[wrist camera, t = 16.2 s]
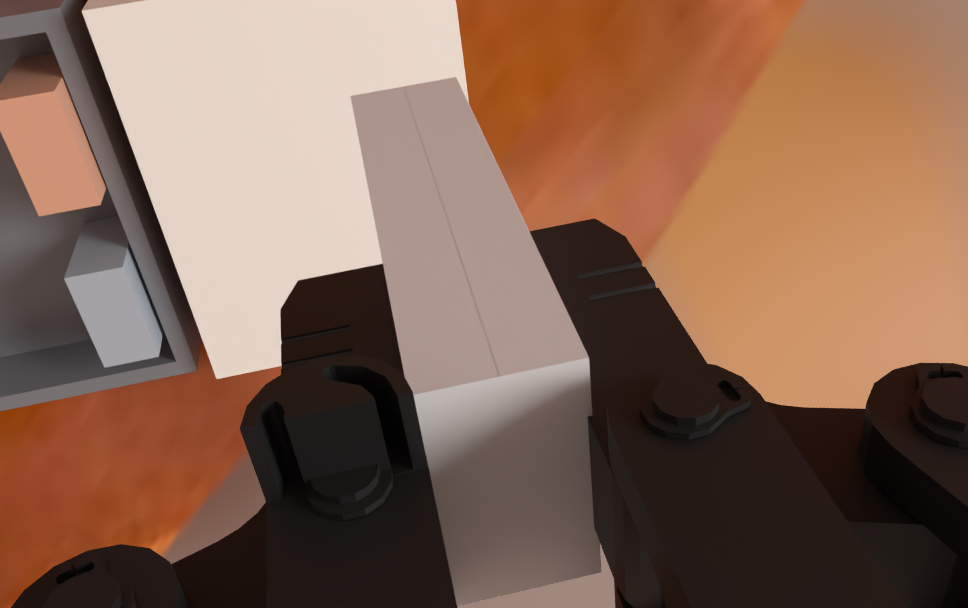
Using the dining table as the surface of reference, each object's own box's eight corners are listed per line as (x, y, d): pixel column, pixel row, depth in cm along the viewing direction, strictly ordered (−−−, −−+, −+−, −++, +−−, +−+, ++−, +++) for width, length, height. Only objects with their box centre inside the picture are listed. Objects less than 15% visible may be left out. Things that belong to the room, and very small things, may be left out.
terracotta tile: (77, 48, 39) (17, 59, 39) (54, 91, 35) (-13, 102, 35) (117, 154, 42) (61, 164, 42) (100, 205, 38) (39, 216, 38)
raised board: (102, -24, 38) (81, 10, 34) (430, -78, 39) (449, -51, 35) (221, 320, 48) (216, 379, 44) (478, 269, 50) (496, 321, 46)
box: (-225, 29, 37) (-273, 63, 34) (77, -20, 38) (59, 7, 35) (-31, 371, 47) (-53, 422, 44) (202, 324, 48) (197, 370, 45)
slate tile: (136, 213, 44) (83, 223, 43) (122, 267, 39) (64, 278, 39) (168, 298, 46) (119, 307, 46) (159, 356, 42) (104, 367, 42)
